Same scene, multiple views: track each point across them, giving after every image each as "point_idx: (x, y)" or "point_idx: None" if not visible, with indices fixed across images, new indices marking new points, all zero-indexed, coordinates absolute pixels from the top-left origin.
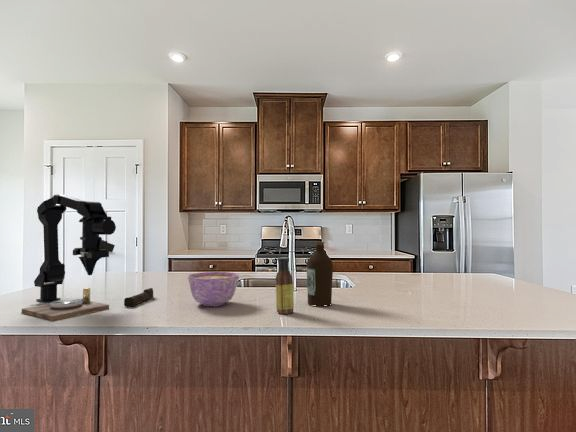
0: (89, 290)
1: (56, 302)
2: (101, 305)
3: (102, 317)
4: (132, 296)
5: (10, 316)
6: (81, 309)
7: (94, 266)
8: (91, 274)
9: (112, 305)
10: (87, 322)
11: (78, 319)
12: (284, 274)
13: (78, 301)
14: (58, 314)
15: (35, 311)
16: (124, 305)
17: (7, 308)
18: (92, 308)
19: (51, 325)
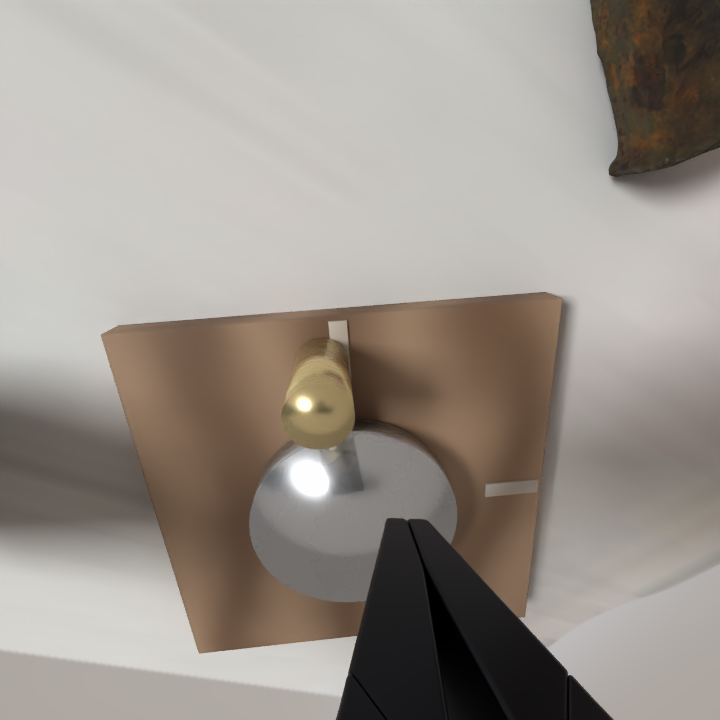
0: (351, 395)
1: (318, 569)
2: (536, 351)
3: (695, 434)
4: (691, 53)
5: (250, 668)
6: (529, 487)
7: (575, 688)
8: (431, 533)
9: (469, 207)
10: (698, 518)
11: (606, 520)
12: None
13: (415, 476)
14: (517, 591)
15: (340, 633)
16: (612, 174)
17: (6, 641)
18: (546, 423)
19: (585, 617)
